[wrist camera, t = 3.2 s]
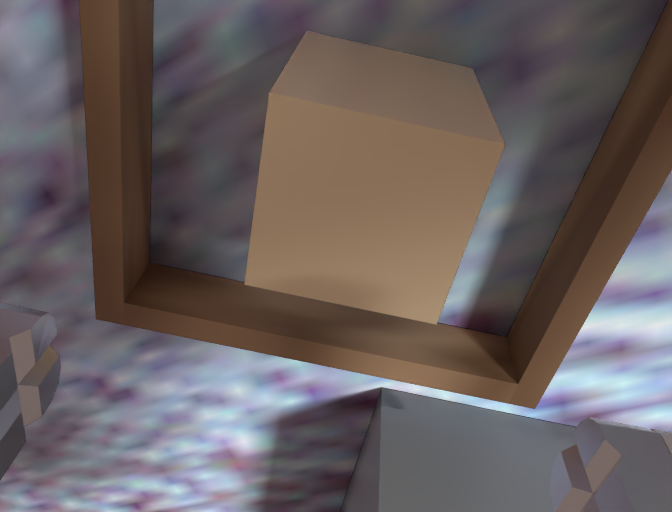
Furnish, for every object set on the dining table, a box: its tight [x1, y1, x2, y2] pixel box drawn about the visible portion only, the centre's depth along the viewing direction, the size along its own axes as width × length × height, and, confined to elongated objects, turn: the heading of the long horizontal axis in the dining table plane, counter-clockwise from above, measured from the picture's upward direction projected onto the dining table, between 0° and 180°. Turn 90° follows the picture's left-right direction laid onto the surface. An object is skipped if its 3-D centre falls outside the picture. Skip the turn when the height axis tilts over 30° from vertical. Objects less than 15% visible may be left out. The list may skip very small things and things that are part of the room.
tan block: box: [244, 31, 505, 324], centre depth 16 cm, size 5×5×6 cm
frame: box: [79, 0, 672, 409], centre depth 17 cm, size 16×16×2 cm
